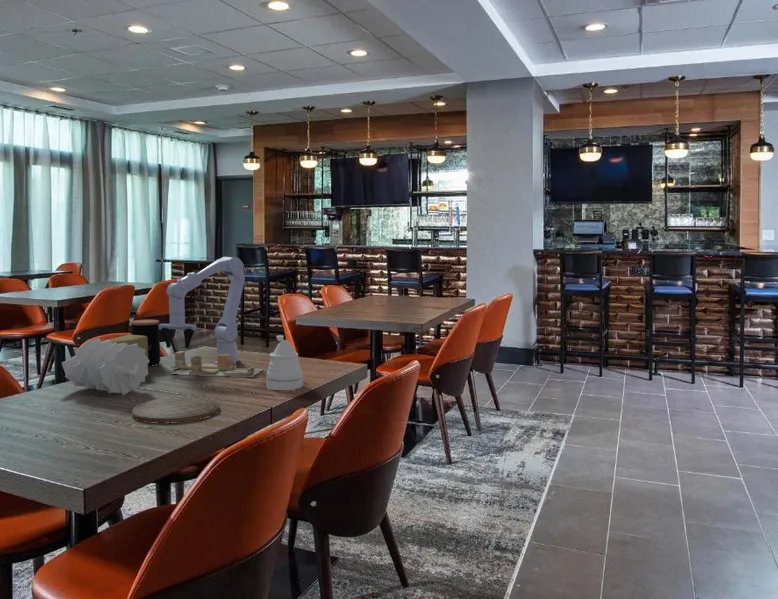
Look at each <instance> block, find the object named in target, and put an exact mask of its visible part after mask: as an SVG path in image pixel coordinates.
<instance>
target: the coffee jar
mask: <svg viewBox="0 0 778 599" xmlns="http://www.w3.org/2000/svg"><path fill="white" fill-rule="evenodd" d="M130 323H131V325H132V326H131V328H130V329H131V330H130V331H131V334H130V335H141V336H146V337H147V340H148V359H149V361H150V362H149V363H148V366H152V365H156V364H158V365H160V362H161V342H160V341H161V340H160V339H161V338H160V337H161V335H160V334H161V332H160V329H159V324H160V320H158V319H136V320H131V321H130ZM152 367H153V366H152Z"/></svg>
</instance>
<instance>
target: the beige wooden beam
mask: <svg viewBox="0 0 778 599" xmlns="http://www.w3.org/2000/svg"><path fill="white" fill-rule="evenodd" d="M235 368H237V362H236V361H233V362H231V363H229V367H218V366H217V364H214V363H213V364H211V363H209V364H208V363H202V369H219V370H233V369H235ZM172 369H191V363H186V351H185V350H184V351H183V350H179V351H177V352H174V364H173V365H172Z"/></svg>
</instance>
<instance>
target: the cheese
mask: <svg viewBox="0 0 778 599" xmlns="http://www.w3.org/2000/svg"><path fill="white" fill-rule="evenodd" d="M110 340H111V342H112V343H115V342H117V344H122V343H127V344H128V346H129V345H133V344H138V347H140V348H143V349H145V350H146V352H145V355H146V356H147V358H148V340H147V337H146V336H141V335H131V334H126V335H122V336H118V337H117V336H116V337H115V338H111V339H110ZM100 341H101V340H100ZM105 341H106V340H102V341H101V342H105ZM147 368H148V369H149V367H148V364H147Z"/></svg>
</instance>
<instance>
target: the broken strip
mask: <svg viewBox="0 0 778 599" xmlns="http://www.w3.org/2000/svg"><path fill="white" fill-rule="evenodd" d="M190 361H191V362H190V364H191V370H190V371H189V374H208V375H215V374H216V373H218V372H219V369H202V364H203V362H202V356H200V355H195V356H192V357H191V358H190ZM246 369H247V370H228V371H226V372H224V375H235V376H251V375H252V374H254V369H255V366H250V367H249V368H246Z"/></svg>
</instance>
